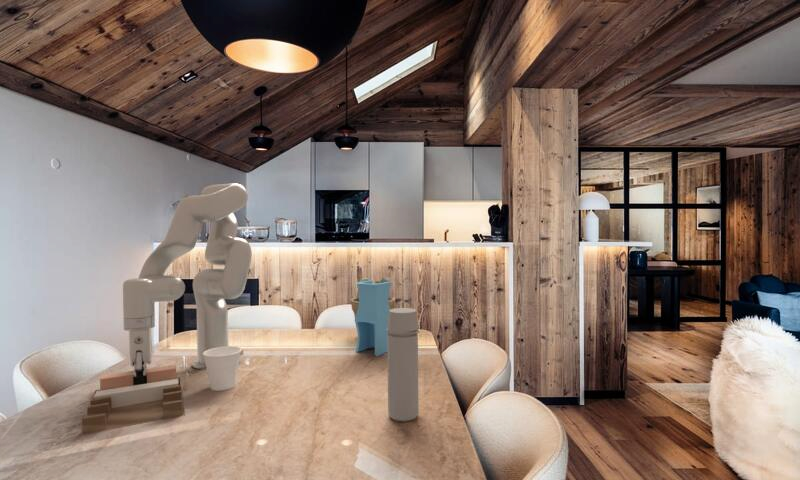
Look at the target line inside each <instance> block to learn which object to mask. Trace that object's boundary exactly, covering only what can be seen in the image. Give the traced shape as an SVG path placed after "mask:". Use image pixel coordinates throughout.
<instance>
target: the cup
mask: <svg viewBox="0 0 800 480" xmlns="http://www.w3.org/2000/svg"><path fill="white" fill-rule="evenodd" d="M241 349H242V348H241V347H238V346H229V345H228V346H227V347H218V348H213V349H209V350H207V351H205V352H203V355H204V359H205V363H206V368H207V369H206V372H207V376H208V378H207V379H208V380H209V381H208V383H209V387H210V390H212V391H214V392H215V391H218V392H220V391H221V392H222V391H227V390H230V389H233V388H234V387H236V384H237V377H238V369H239V363H240V357H241V355H240V352H241Z"/></svg>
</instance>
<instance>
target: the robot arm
mask: <svg viewBox="0 0 800 480" xmlns="http://www.w3.org/2000/svg"><path fill="white" fill-rule="evenodd" d="M248 198H249V194H248V191H247V189H246V188H245V187H244V185H242V184H239V183H223V184H222V183H220V184H211V185H208V186H205V187H203V188H202V190H201V192H200V195H199V194H198V195H188V196H184V197H183V198H181V200H180V201H179V202H178V203H177V207H176V209H175V212H174V215H173V217H172V220H171V223H170V226H169V228H168V230H167V233H166V236H165V238H164V239H163V241H162V242H161V243H159V245H158V246H157V247H155V249H154V250H153V251H152V253H150V254H149V256H148V257H147V259H145V262H144V263H143V266H142V268H141V270H140V273H139V276H138V277H136V278H130V279H126V280H124V281H123V284H122V306H123V307H122V309H123V313H122V315H123V318H122V319H123V330H124V331H127V332H128V345H129V346H128V347H129V362H130V366H131V367H133V371H134V377H133V386H134V385H141V384H147V375H146V369H148V368H147V365H151V364H152V361H153V349H152V348H153V347H152V346H153V345H152V344H153V343H152V342H153V341H152V340H153V339H152V337H153V336H152V329H153V328H155V327H156V322H155V321H156V317H155V313H156V311H155V310H156V309H155V305H156V303H158V302H173V301H176V300H179V299H180V298H181V297H182V296H183V295H184V293H185V291H186V285H185V283H184V281H183V280H182V279H181V278H179V277H177V276H175V275H165V274H166V272H167V269H168V268H169V267H170V266H171V265H172V264H173V263H174V262H175V261H176V260H177V259H179V258H181V257H182V256H185V255H186V254H188V253H189V252H191V251H193V249H195V247H196V245H197V242H198V238H199V235H200V232H201V230H202V226H203V225H204V223H210V224H211V226H210V230H209V234H208V238H207V242H206V245H205V246H206V247H205V249H204V250H205V251H204V258H205V260H206V262H207V263H209V264H210V265H212V266H220V267H221V266H222V267H223V266H224V268H223V269H222V268H206V269H203V270H202V269H201V270H200V271H198V272H197V273H196V274H195V276H194V277H193V279H192V290H193V294H194V295H193V296H194V300H195V305H196V307H195V308H196V334H197V335H196V336H197V337H196V341H197V342H196V344H197V359H195V360H194V361H192V367H193V368H195V369H199V370H207V368H206V363H205V359H204V355H203V352H205V351H207V350H209V349H213V348H218V347H227V346H229V316H228V315H229V314H228V313H229V310H228V309H229V308H228V305H227V302H226V300H234V299H237V298H239V297H240V296H241V295H242V294H243V293H244V291H245V289H246V285H247V281H248V276H249V271H250V267H251V262H252V247H251V245H250V243H249V242H248V240H246V239H245V238H242V237H237V233H238V225H239V224H238V220H237V216H236V215H235V213H236V212H238V211H239V210H242V208H244V207H245V206H246V204H247V202H248V201H249V200H248ZM243 355H244V349H243V348H241V352H240V356H243Z"/></svg>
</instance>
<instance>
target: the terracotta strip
mask: <svg viewBox="0 0 800 480" xmlns="http://www.w3.org/2000/svg"><path fill="white" fill-rule="evenodd" d="M146 375H147V383H154V382H160V381H163V380H166V379H173V378H177V365H176V364H172V365H164V366H158V367H149V368H147V369H146ZM133 377H134V370H128V371H121V372H114V373H107V374H106V373H105V374H101V376H100V379H99V386H100V387H99V390H100V389H107V388H114V389H115V388H121V387H128V386H133Z"/></svg>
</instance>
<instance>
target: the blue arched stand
mask: <svg viewBox="0 0 800 480" xmlns="http://www.w3.org/2000/svg"><path fill="white" fill-rule="evenodd" d="M356 286H357V287H356V288H357V292H358V294H359V295H358V297H359V306H358V310H357V313H356V316H355V315H354V322H355V327H356V333H357V342H356V346H355V353H360V352H361V351H364V350H367V349H371V348H374V356H376V357H378V356H380V355H383V354H385V353H387V334H388V332H387V330H386V329H387V327H388V315H389V310H390V307H389V301H388V297H390V290H391V288H392V287H391V286H392V281H391V282H384V283H379V284H375V283H373V280H371V279H370V280H369V281H364V282H360V281H359V282H356Z"/></svg>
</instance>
